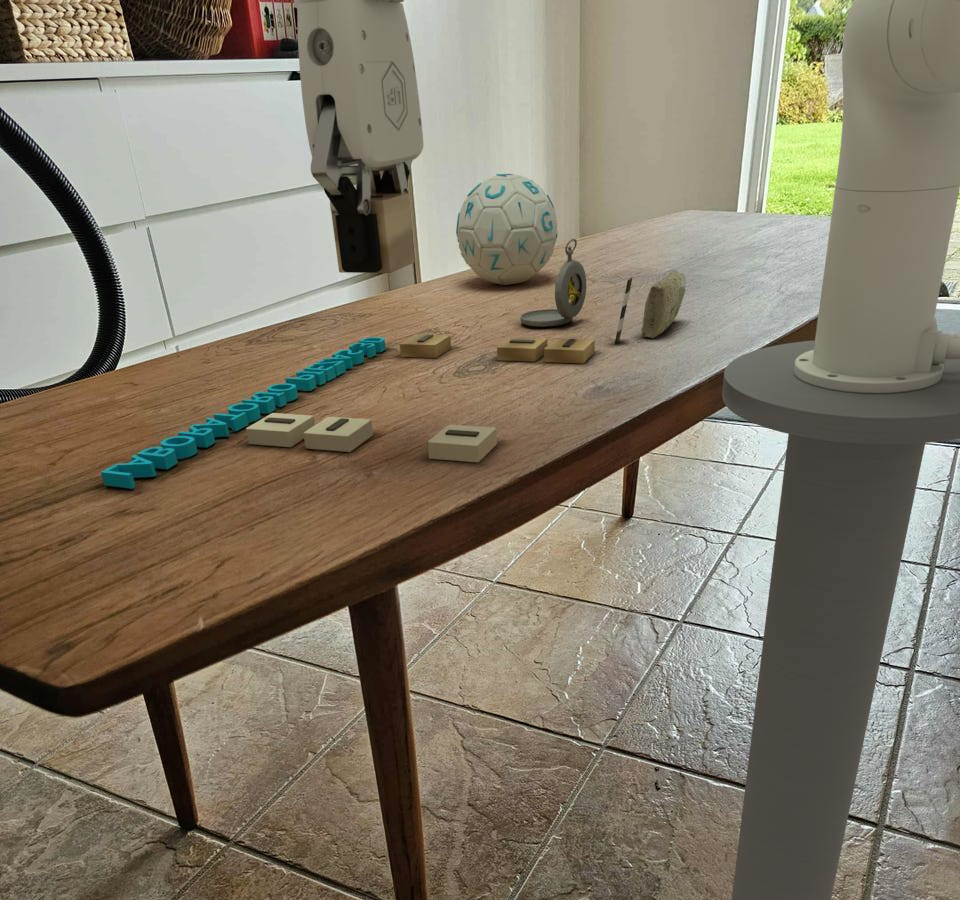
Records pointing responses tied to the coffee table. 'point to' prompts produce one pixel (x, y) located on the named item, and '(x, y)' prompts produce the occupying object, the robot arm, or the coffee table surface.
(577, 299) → the pocket watch
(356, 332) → the coffee table surface
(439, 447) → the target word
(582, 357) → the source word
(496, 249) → the puzzle ball
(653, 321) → the stone and scale-bar
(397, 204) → the letter block
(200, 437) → the text ornament
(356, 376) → the coffee table surface
